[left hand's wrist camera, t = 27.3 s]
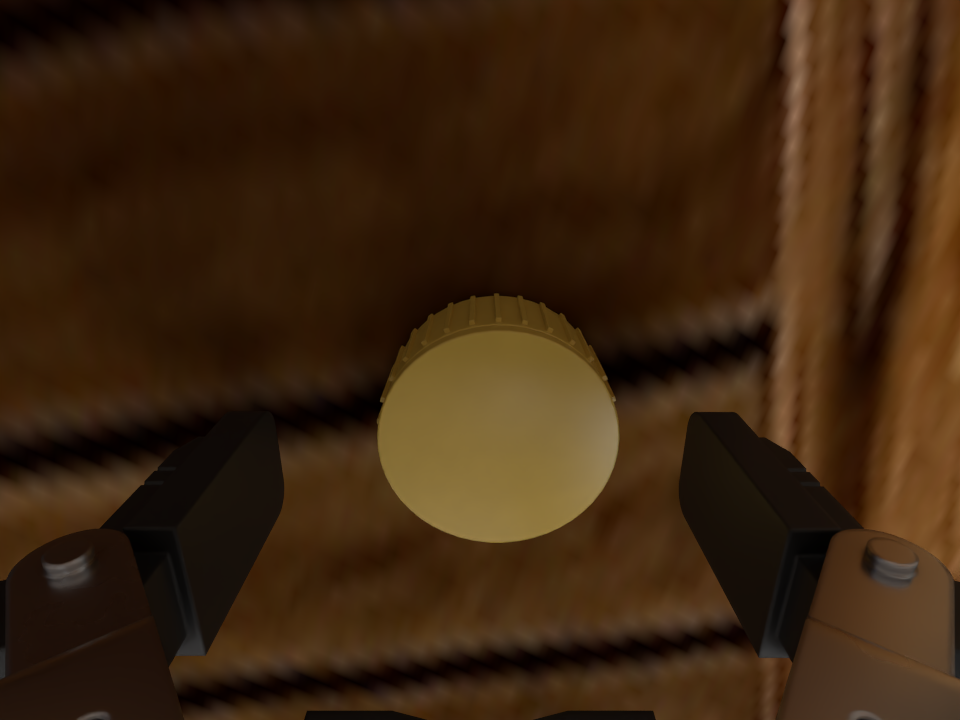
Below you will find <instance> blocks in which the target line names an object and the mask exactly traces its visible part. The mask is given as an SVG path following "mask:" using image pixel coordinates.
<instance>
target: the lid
mask: <svg viewBox="0 0 960 720" xmlns="http://www.w3.org/2000/svg"><path fill="white" fill-rule="evenodd" d="M607 380H608V378H607V376H606V374H605V372H604V370H603V368H602V366H601V364H600V362H599V360H598V358H597V356H596V354H595V352H594V350H593V348H592V346H591V345H589V346H588V345H587V343H586V341H585V339H584V337H583V334H582V332H581V330H580V329H579V328H576V329H574V328H573V327H572V326H571V325H570V324H569V323H568V322H567V320H566V318H565V316H564V315H563V314H562V313H560V314H559V315H558V314H557V313H555V312H553V311H551V310H550V309H548V308H546V306H545V304H544V303H542V302H540V304H537V303H535V302H532V301H528V300H525V299H523V296H519V295H518V296H517V298H515V297H508V296H499V293H494V296H486V297H477V298H476V297H475V296H471V297H470V299H469V300H465V301H462V302H459V303H456V304H453V302H452V303H449V304H448V307H447V308H445V309H444V310H442V311H440V312H438V313H437V314H435V315H433V314H430V315H429V316H428V319H427V321H426V322H425V323H424V324H423V325H422V326H421V327H420V328H419V329H418V330H417V329H416V328H414V329H413V331H412V333H411V336H410V339H409V341H408V343H407V344H406V346H405V347H404V346H401V348H400V350H399V352H398V355H397V358H396V361H395V363H394V365H393V367H392V369H391V372H390V375H389V377H388V380H387V383H386V385H385V388H384V391H383V394H382V396H381V399H380V402H383V405H382V407H381V410H380V413H379V416H378V419H377V424H378V430H377V444H378V453H379V457H380V462H381V465H382V468H383V471H384V473H385V476H386V478H387V480H388V482H389V483H390V485H391V487H392V489H393V490H394V492H395V493H396V494H397V496H398V497H399V498H400V500H401V501H402V502H403V503H404V504H405V505H406V506H407V507H408V508H409V509H410V510H411V511H412V512H413V513H414V514H416V515H417V516H418V517H419V518H421V519H422V520H424V521H425V522H427V523H428V524H430V525H432V526H433V527H435V528H437V529H439V530H442V531H444V532H446V533H448V534H451V535H454V536H457V537H460V538H464V539H469V540H473V541H481V542H500V543H504V542H514V541H521V540H526V539H531V538H534V537H537V536H541V535H544V534H547V533H549V532H551V531H553V530H556V529H558V528H560V527H561V526H563V525H565V524H567V523H568V522H570V521H572V520H573V519H574V518H576V517H577V516H578V515H580V514H581V513H582V512H583V511H584V510H585V509H586V508H587V507H588V506H590V505H591V504H592V503H593V502H594V500H595V499H596V498H597V496H598V495H599V494H600V493H601V491H602V490H603V488H604V487H605V485H606V483H607V482H608V480H609V478H610V476H611V473H612V471H613V468H614V466H615V463H616V459H617V455H618V450H619V441H620V431H619V419H618V415H617V410H616V407H615V405H614V401H616V399H615V396H614V394H613V392H612V390H611V388H610V386H609V384H608V381H607Z"/></svg>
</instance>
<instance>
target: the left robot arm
mask: <svg viewBox="0 0 960 720" xmlns="http://www.w3.org/2000/svg"><path fill="white" fill-rule="evenodd" d="M283 498H284V479H283V473H282V466H281V459H280V452H279V445H278V439H277V432H276V425H275V421H274V418H273V415H272V414H271V413H270V412H269V411H229V412H227V413H226V414H225V415H224V416H223V417H222V418H221V419H220V420H219V421H218V423H217V424H216V425H215V426H214V427H213V428H212V429H211V430H210V431H209V433H208V434H207V435H206V436H205V437H197V438H195V439H194V440H192V441H190V442H188V443H187V444H185V445H183V446H181V447H180V448H178V449H176V450H175V451H173V452H172V453H171V454H170V455H169V456H168V458H167V459H166V460H165V461H164V462H163V463H162V464H161V465H160V466H159V467H158V471H154V472H153V473H152V474H151V475H150V476H149V477H148V478H147V479H146V481H145V484H144V485H141V486H140V487H139V488H138V489H137V490H136V491H135V492H134V493H133V494H132V495H131V496H130V497H129V498H128V499H127V500H126V501H125V502H124V504H123V505H122V506H121V507H120V508H119V509H118V510H117V511H116V512H115V513H114V514H113V515H112V516H111V517H110V518H109V519H108V520H107V521H106V522H105V523H104V524H103V525H102V527H101V528H100V529H91V530H85V531H80V532H76V533H72V534H69V535H66V536H63V537H60V538H57V539H55V540H53V541H51V542H48V543H46V544H45V545H43V546H41V547H39V548H37V549H36V550H34V551H33V552H31V553H29V554H28V555H27V556H26V557H24V558H23V559H22V560H21V561H20V562H19V563H18V564H16V565H15V566H14V568H13V569H12V570H11V572H10V573H9V575H8V577H7V580H3V581H0V720H184V717H183V714H182V711H181V707H180V704H179V701H178V697H177V694H176V691H175V687H174V684H173V681H172V677H171V674H170V671H169V666H170V664H171V662H172V660H173V659H174V657H175V656H206V654H207V652H208V650H209V648H210V646H211V644H212V642H213V640H214V638H215V637H216V635H217V633H218V631H219V629H220V627H221V625H222V623H223V621H224V619H225V617H226V615H227V614H228V612H229V610H230V608H231V606H232V604H233V602H234V600H235V598H236V596H237V594H238V593H239V591H240V589H241V587H242V585H243V583H244V581H245V579H246V577H247V575H248V573H249V572H250V570H251V568H252V566H253V564H254V562H255V560H256V558H257V556H258V554H259V552H260V551H261V549H262V547H263V545H264V543H265V541H266V539H267V537H268V535H269V533H270V531H271V529H272V528H273V526H274V524H275V522H276V520H277V518H278V516H279V514H280V511H281V508H282V504H283ZM679 499H680V505H681V509H682V512H683V515H684V517H685V519H686V521H687V523H688V525H689V527H690V528H691V530H692V532H693V534H694V536H695V538H696V540H697V542H698V544H699V545H700V547H701V549H702V551H703V553H704V555H705V557H706V559H707V561H708V562H709V564H710V566H711V568H712V570H713V572H714V574H715V576H716V578H717V579H718V581H719V583H720V585H721V587H722V589H723V591H724V593H725V595H726V596H727V598H728V600H729V602H730V604H731V606H732V608H733V610H734V612H735V613H736V615H737V617H738V619H739V621H740V623H741V625H742V627H743V628H744V630H745V632H746V634H747V636H748V638H749V640H750V642H751V644H752V645H753V647H754V649H755V651H756V653H757V655H758V657H759V658H790V659H791V661H792V663H793V664H792V667H791V671H790V674H789V677H788V681H787V684H786V687H785V691H784V694H783V697H782V701H781V704H780V707H779V711H778V714H777V717H776V720H960V582H958V581H954V580H953V577H952V575H951V573H950V572H949V570H948V569H947V568H946V566H945V565H944V564H942V563H941V562H940V561H939V560H938V559H937V558H936V557H934V556H933V555H932V554H931V553H929V552H927V551H926V550H924V549H923V548H921V547H919V546H917V545H915V544H914V543H912V542H909V541H907V540H905V539H903V538H900V537H897V536H894V535H891V534H888V533H884V532H880V531H875V530H869V529H864V528H863V527H862V526H861V525H860V524H859V523H858V522H857V521H856V520H855V519H854V518H853V517H852V516H851V515H850V514H849V513H848V512H847V511H846V509H845V508H844V507H843V506H842V505H841V504H840V503H839V502H838V501H837V500H836V499H835V498H834V497H833V496H832V495H831V494H830V493H829V492H828V491H827V490H826V489H825V488H824V487H820V483H819V482H818V480H817V479H816V478H815V477H814V476H813V475H812V474H811V473H810V472H806V468H805V467H804V466H803V465H802V464H801V463H800V462H799V461H798V460H797V459H796V458H795V457H794V456H793V455H792V454H791V453H790V452H789V451H787V450H786V449H784V448H782V447H780V446H779V445H777V444H775V443H773V442H772V441H770V440H768V439H767V438H759V437H758V436H757V435H756V434H755V433H754V432H753V431H752V429H751V428H750V427H749V426H748V425H747V424H746V423H745V422H744V421H743V420H742V418H741V417H740V416H739V415H738V414H737V413H735V412H694V413H693V414H692V415H691V417H690V419H689V422H688V427H687V433H686V440H685V447H684V454H683V460H682V467H681V474H680V480H679ZM304 720H425V719H422V718H418V717H414V716H410V715H406V714H402V713H398V712H395V711H307V713H306V716H305V719H304ZM535 720H656V719H655V716H654V713H653V711H565V712H562V713H558V714H554V715H550V716H546V717H542V718H538V719H535Z"/></svg>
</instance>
